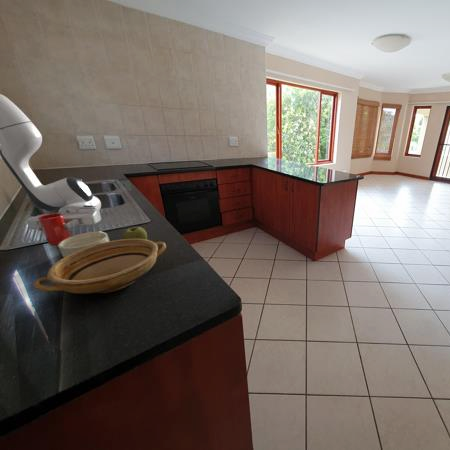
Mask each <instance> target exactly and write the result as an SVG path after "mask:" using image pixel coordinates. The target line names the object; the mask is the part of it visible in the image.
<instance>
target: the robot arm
mask: <svg viewBox="0 0 450 450" xmlns="http://www.w3.org/2000/svg"><path fill="white" fill-rule="evenodd" d="M42 143H43V135H42V134H41V132H40V131H39V129H38V128H37V126H36V125H35V124H34V123H33V122H32V120H31V119H30V118H29V117H28V116H27V115H26V114H25V113H24V112H23V111H22V110H21V109H20V108H19V107H18V106H17V105H16V104H15V103H14V102H13V101H12V100H10V99H9V97H7V96H5V95H3V94H1V93H0V157H1V159H2V161H3V162H4V164H5V165H6V166H7V168H8V169H9V171H10V172H11V174H12V175H13V176H14V178H15V179H16V181H18V183H19V185H20V186H21V187H22V189H23V190H24V191H25V193H26V194H27V195H26V196H27V197H28V199H29V201H30V202H31V204H32V205H33V206H34V207H36V208H37V209H39V210H43V211H48V212H51V214H55V213H56V212H55V213H54V211H56V210H58V209H59V210H58V212H57V213H60V214H62V215H63V218H64V220H65V223H64V224H63V226H64V228H65V229H66V228H68V229H71V228H73V227H79V226H92V225H96V224H98V223H99V222H101V221H102V216H101V212H100V210H101V208H102V202H101V200H100V199H99V198H98V197H97V196H96V195H93V192H92V189H91V188H90V187H89V185H87V183H86V182H85V181H83V180H81V179H79V178H76V177H73V176H68V177H65V178H62V179H59V180H56V181H54V182H51V183H47V184H46V185H44V184H42V183H41V181H40V180H39V178H38V177H37V176H36V174H35V172H34V171H33V170H32V168H31V167H30V165H29V162H30V159H31V157H32V156H33V155H34V154H35V153H36V152H37V151H38V150H39V149H40V147H41V146H42ZM52 212H53V213H52ZM48 214H49V213H41V214H38V215H35V216H33V217H31V218H28V219H26V224H27V226H28V228H29V229H30V230H37V231H38V232H41V231H42V232H43V229H42V227H41V225H40V222H39V220H38V218H39V217H41V216H44V215H48Z"/></svg>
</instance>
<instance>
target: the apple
mask: <svg viewBox="0 0 450 450" xmlns="http://www.w3.org/2000/svg"><path fill="white" fill-rule="evenodd" d="M121 239H145V240H148V233H147V231H146V230H145V228H143V227H141V226H131V227H128V228H127V229H125V230H123V232H122V234H121Z"/></svg>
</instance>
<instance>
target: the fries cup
mask: <svg viewBox="0 0 450 450" xmlns="http://www.w3.org/2000/svg"><path fill="white" fill-rule="evenodd" d="M47 214H48V215H44V216H41V217H39V218H38V220H39V222H40V225H41V227H42V229H43V230H42V232H43V234H44V237H45V238H46V241H47V243H48V244H49V246H58V244H59V243H60V242H61V241H62V240H64V239H67V238H69V237H72V236H71V233H70V231H69V230H70V229H69V228H66V229H65V228H64V226H63V224H64V223H65V220H64V218H63V215H62V214H60V213H58V212H55V214H52V213H47Z"/></svg>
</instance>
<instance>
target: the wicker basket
mask: <svg viewBox="0 0 450 450" xmlns="http://www.w3.org/2000/svg"><path fill="white" fill-rule="evenodd" d="M160 246H161V248H160V249H159V247H160ZM166 249H167V244H166V243H165V242H164V241H156V242H154V241H152V240H150V239H147V240H145V239H122V238H121V239H115V240H110V241H109V242H104V243H100V244H96V245H93V246H90V247H87V248H84V249H81V250H79V251H76V252H74V253H72V254H70V255H68V256H66V257H63V258H61V259H59V260H58V261H56V262H55V263H54V264H53V265H52V266H51V267H50V268H49V269H48V270H47V276H45V277H40V278H38V279H36V280H35V281H34V283H33V287H34V288H35V289H36V290H38V291H41V292H58V291H59V292H62V291H64V292H67V293H71V294H77V295H94V294H106V293H112V292H116V291H120V290H123V289H125V288H127V287H128V286H130V285H133V283H135V282H136V281H137V280H139V279H141V278H142V277H144V276H146V274H147V273H149V272H150V270H151V269H152V268H153V267H154V265H155V264H156V262H157V258H158V257H159V256H161V255H162V254H163V253H164V252H165V251H166ZM49 282H52V283H53V284H54V285H43V284H45V283H49Z"/></svg>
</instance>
